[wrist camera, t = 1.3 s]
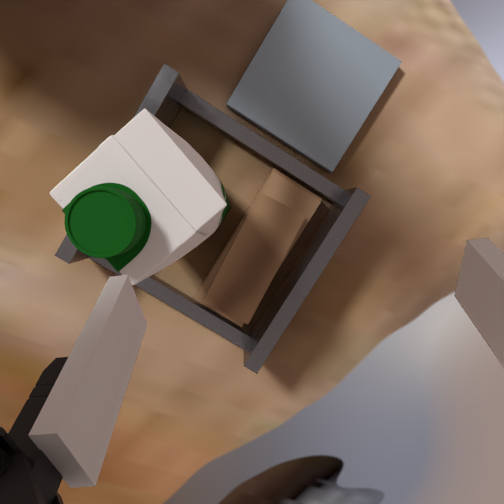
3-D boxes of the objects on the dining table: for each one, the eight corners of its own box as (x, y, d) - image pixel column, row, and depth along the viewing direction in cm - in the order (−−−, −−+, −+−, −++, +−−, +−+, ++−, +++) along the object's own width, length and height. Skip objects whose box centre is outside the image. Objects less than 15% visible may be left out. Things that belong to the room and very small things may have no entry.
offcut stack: (195, 295, 42) (189, 305, 37) (272, 169, 40) (275, 164, 36) (241, 322, 42) (241, 336, 37) (319, 199, 41) (329, 197, 36)
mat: (226, 106, 40) (226, 103, 39) (293, -6, 39) (294, -12, 38) (330, 172, 41) (332, 171, 40) (397, 65, 40) (401, 61, 39)
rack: (82, 248, 41) (54, 255, 35) (176, 85, 39) (164, 63, 33) (255, 351, 43) (256, 373, 37) (352, 198, 41) (370, 196, 35)
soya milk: (126, 200, 41) (12, 189, 21) (190, 144, 40) (136, 77, 20) (181, 261, 41) (122, 308, 21) (244, 207, 41) (243, 204, 21)
